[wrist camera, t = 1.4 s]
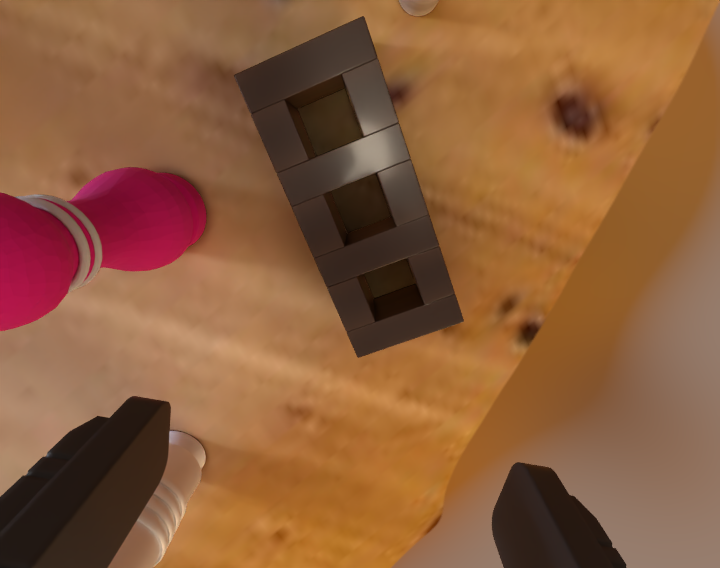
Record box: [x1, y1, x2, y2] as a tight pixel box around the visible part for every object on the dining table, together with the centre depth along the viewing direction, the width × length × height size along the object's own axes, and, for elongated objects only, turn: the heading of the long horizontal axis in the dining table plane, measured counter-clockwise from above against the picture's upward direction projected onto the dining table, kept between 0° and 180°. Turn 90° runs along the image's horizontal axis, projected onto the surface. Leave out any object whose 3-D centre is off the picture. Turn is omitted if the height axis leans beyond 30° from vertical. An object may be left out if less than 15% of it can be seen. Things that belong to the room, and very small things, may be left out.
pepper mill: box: [0, 167, 206, 331], centre depth 22 cm, size 7×7×20 cm
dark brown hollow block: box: [234, 16, 464, 358], centre depth 28 cm, size 21×9×5 cm, turn 21°
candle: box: [108, 431, 206, 568], centre depth 32 cm, size 7×7×15 cm
